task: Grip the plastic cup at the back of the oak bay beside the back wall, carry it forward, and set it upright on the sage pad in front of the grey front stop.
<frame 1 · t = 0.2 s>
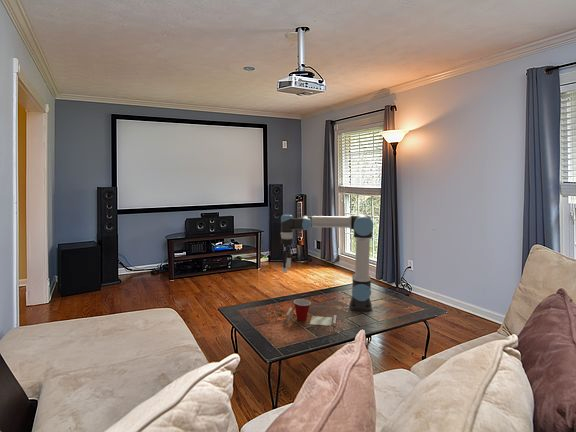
hand: (286, 269, 251), 28 cm above the table, tool pointing down, fingers open, 13 cm apart
plastic cup: (302, 320, 237), on the table
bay: (311, 320, 236), on the table
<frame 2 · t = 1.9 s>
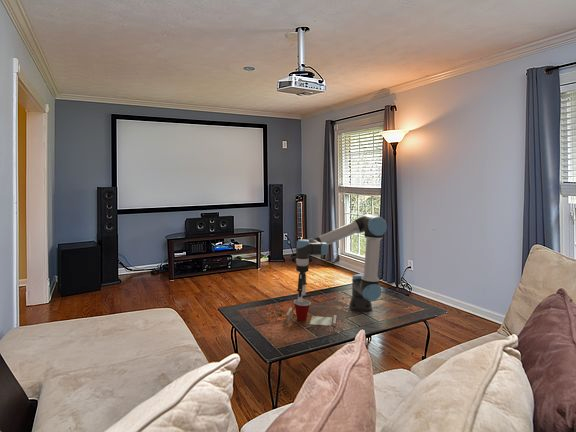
hand: (301, 298, 236), 14 cm above the table, tool pointing down, fingers open, 13 cm apart
nothing on the table moved.
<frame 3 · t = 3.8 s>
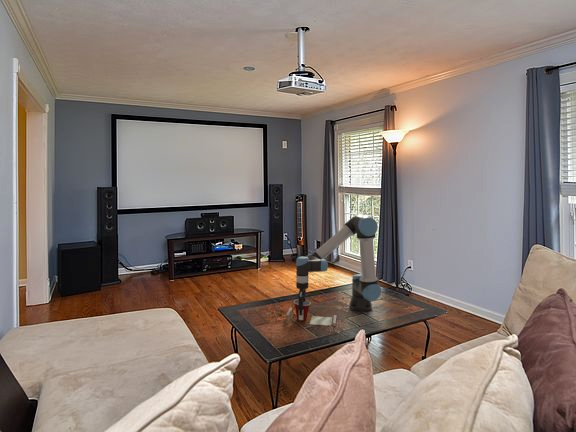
hand: (302, 316, 237), 2 cm above the table, tool pointing down, fingers closed on plastic cup, 9 cm apart
plastic cup: (302, 320, 237), on the table, touching gripper
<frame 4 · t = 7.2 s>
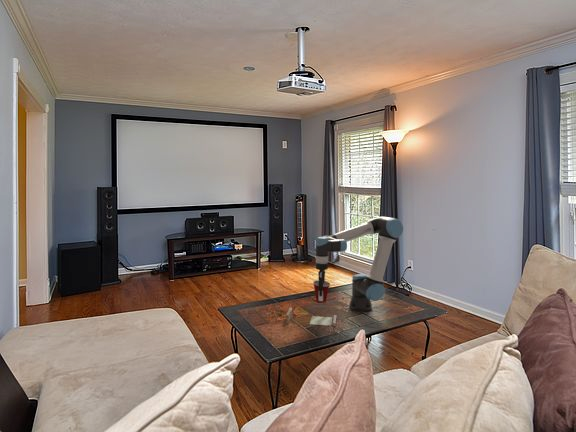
hand: (321, 298, 234), 15 cm above the table, tool pointing down, fingers closed on plastic cup, 9 cm apart
plastic cup: (321, 301, 234), point 13 cm above the table, touching gripper
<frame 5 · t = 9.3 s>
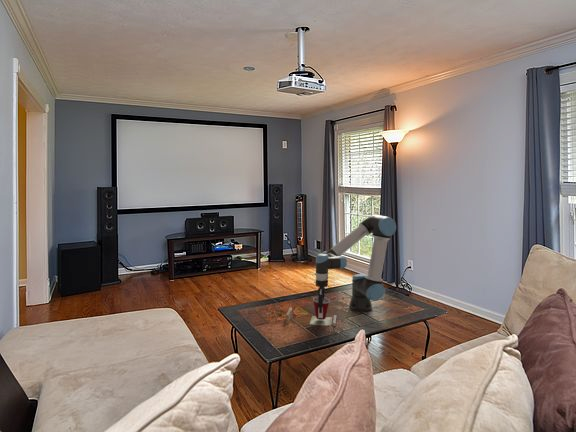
hand: (321, 314, 235), 4 cm above the table, tool pointing down, fingers closed on plastic cup, 9 cm apart
plastic cup: (321, 318, 235), point 2 cm above the table, touching gripper
when the fingers open (3 cm above the table, at t = 10.8 s): plastic cup stays where it is, resting on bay.
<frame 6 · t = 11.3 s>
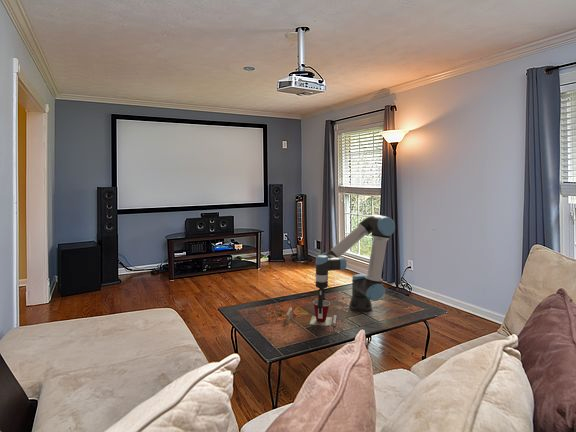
hand: (321, 314, 235), 4 cm above the table, tool pointing down, fingers open, 13 cm apart
plastic cup: (321, 320, 235), resting on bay
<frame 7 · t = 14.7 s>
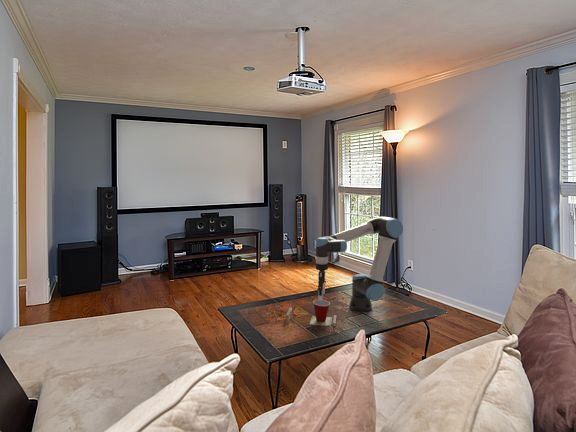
hand: (321, 296, 234), 16 cm above the table, tool pointing down, fingers open, 13 cm apart
nothing on the table moved.
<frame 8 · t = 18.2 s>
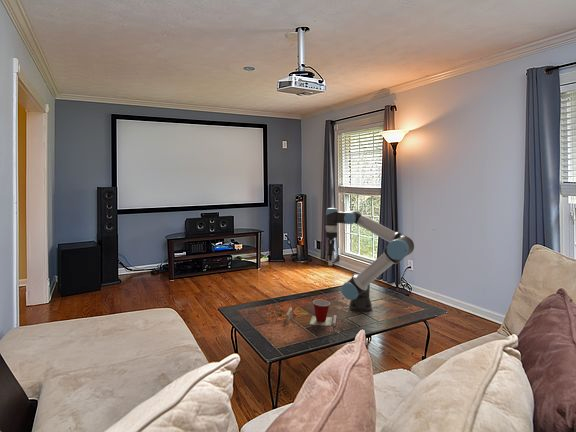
hand: (331, 262, 253), 32 cm above the table, tool pointing down, fingers open, 13 cm apart
nothing on the table moved.
at the end: plastic cup inside the target area (0.3 cm from its centre), resting on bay; plastic cup tilted 0°; the gripper is holding nothing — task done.
